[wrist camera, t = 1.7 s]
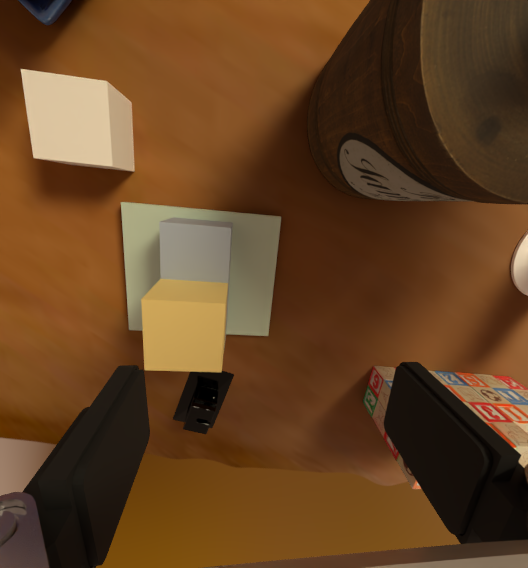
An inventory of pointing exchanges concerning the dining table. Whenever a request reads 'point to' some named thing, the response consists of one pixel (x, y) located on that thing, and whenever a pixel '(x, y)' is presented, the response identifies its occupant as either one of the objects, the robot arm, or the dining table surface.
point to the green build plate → (243, 267)
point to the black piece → (202, 400)
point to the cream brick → (78, 121)
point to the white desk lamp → (521, 265)
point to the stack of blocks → (472, 392)
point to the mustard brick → (184, 325)
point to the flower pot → (46, 9)
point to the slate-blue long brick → (196, 250)
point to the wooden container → (427, 103)
